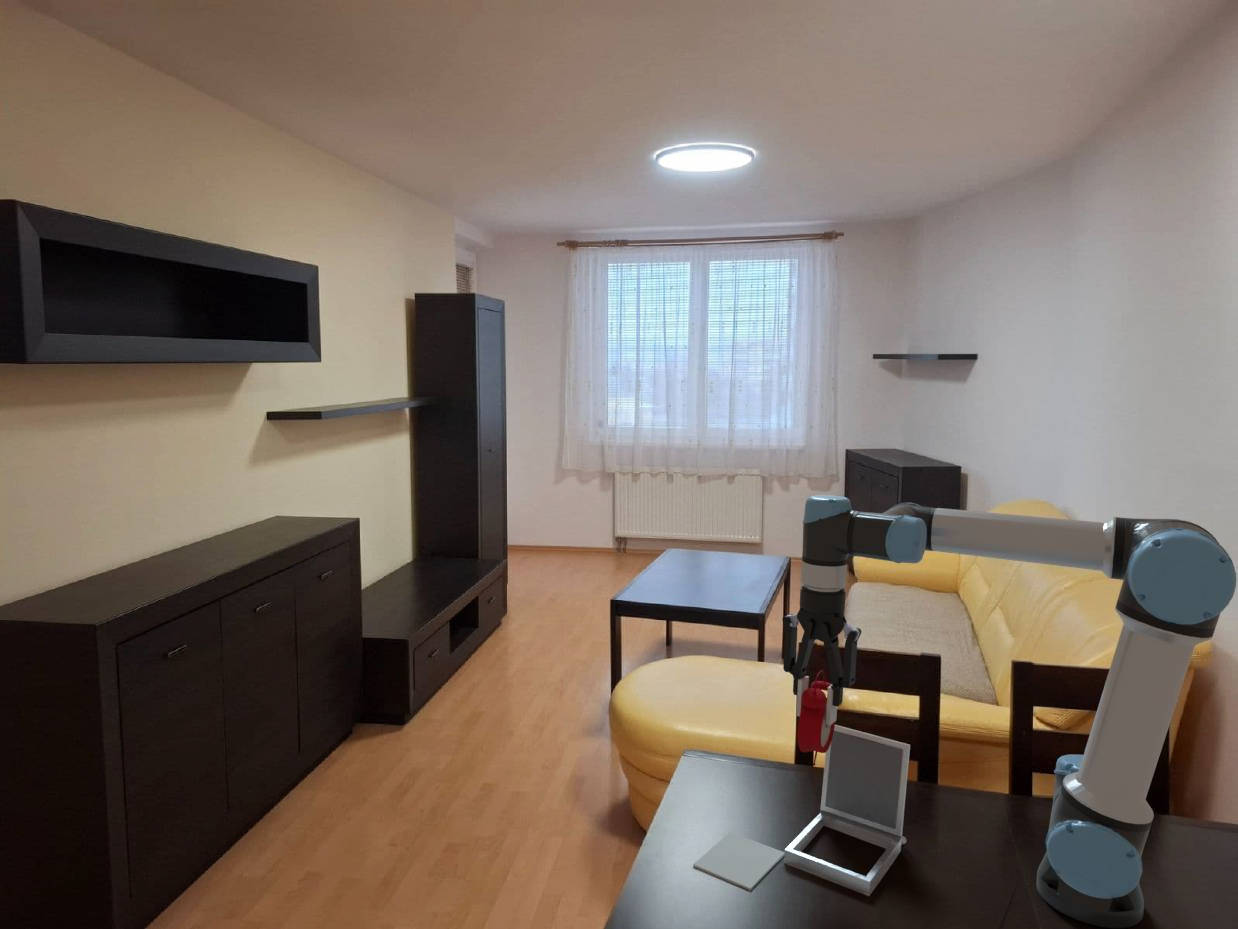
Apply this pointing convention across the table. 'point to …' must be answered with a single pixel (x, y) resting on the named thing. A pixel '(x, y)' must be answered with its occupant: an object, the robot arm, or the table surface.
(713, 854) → the mat
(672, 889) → the table surface
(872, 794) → the lid
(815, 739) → the alarm clock
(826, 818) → the case
